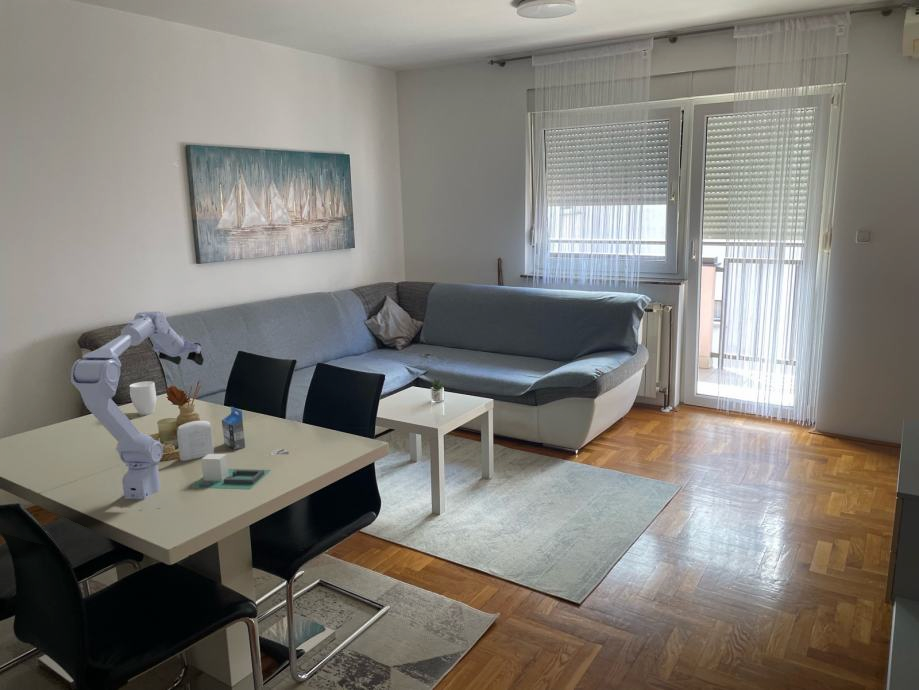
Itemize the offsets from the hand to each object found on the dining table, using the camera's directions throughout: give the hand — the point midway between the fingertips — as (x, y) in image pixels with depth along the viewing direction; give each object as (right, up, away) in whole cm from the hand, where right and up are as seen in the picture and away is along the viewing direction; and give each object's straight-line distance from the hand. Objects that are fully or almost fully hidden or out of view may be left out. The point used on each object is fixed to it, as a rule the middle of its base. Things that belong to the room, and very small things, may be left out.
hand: (190, 362), depth 212 cm
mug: (-41, -22, +59) cm, 75 cm away
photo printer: (0, -31, +6) cm, 31 cm away
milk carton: (+8, -28, +17) cm, 34 cm away
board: (+17, -34, -14) cm, 41 cm away
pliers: (+22, -31, +3) cm, 38 cm away
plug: (+13, -33, -13) cm, 38 cm away
